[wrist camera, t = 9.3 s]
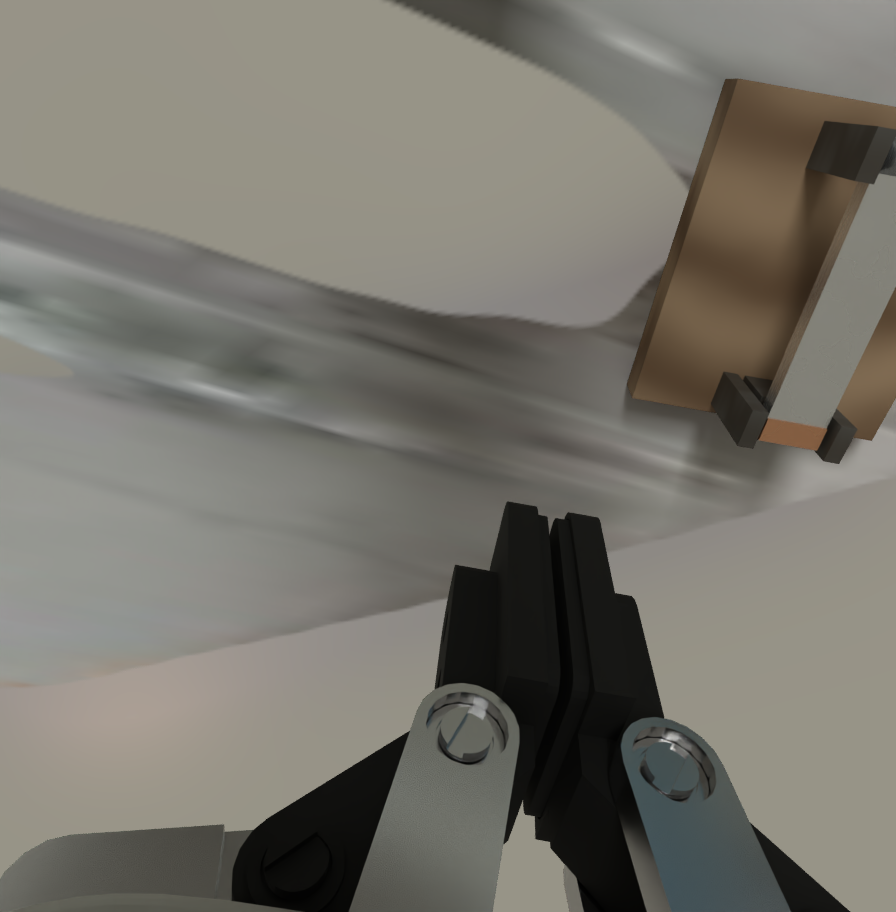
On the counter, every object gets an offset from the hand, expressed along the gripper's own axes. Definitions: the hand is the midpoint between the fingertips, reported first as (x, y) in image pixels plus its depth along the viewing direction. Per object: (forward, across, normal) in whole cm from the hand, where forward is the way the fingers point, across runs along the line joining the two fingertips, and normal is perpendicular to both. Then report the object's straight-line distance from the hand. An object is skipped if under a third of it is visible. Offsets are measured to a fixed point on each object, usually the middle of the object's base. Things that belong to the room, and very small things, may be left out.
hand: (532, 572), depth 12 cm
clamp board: (+27, -15, -2) cm, 31 cm away
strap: (+22, -15, -1) cm, 27 cm away
